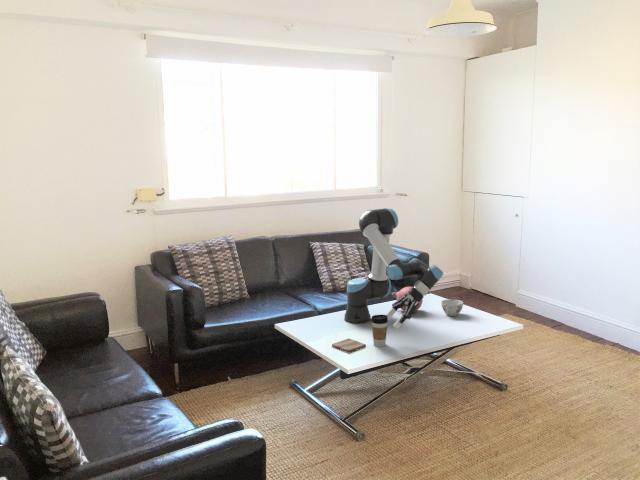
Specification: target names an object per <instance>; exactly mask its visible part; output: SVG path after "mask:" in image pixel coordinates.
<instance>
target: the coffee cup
mask: <svg viewBox="0 0 640 480" xmlns="http://www.w3.org/2000/svg"><path fill="white" fill-rule="evenodd" d="M370 321H371V329H372V340H373V346H375V347H377V346H378V347H379V348H380V347H385V346H386V341H387V333H388V332H387V331H388V322H389V320H388V318H387V315H386V314H373V315H371V319H370Z"/></svg>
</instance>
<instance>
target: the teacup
mask: <svg viewBox="0 0 640 480" xmlns="http://www.w3.org/2000/svg"><path fill="white" fill-rule="evenodd" d="M440 303H441V308H442V310H443V312H444V313H445V314H446V315H447V316H448V317H457V316H458V315H459V313H461V311H462V310H463V307H464V301H462V300H460V299H444V300H441V302H440Z"/></svg>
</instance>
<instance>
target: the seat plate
mask: <svg viewBox="0 0 640 480" xmlns="http://www.w3.org/2000/svg"><path fill="white" fill-rule="evenodd" d="M332 346H333V348H334V347H336V348H335V349H337V348H338V349H337V350H340V349H341V351H342V350H343V352H345V351H346V352H345V353H347V352H350V353H353V352H355V351H358V350H361V349H363V348H366V343H364V342H360V341H359V340H358V341H357V340H354V339H352V338H349V337H348V338H346V339H343V340H340V341H337V342H335V343H332V344H331V347H332ZM360 348H361V349H360ZM357 349H358V350H357ZM352 351H353V352H352Z"/></svg>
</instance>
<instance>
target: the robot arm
mask: <svg viewBox="0 0 640 480" xmlns="http://www.w3.org/2000/svg"><path fill="white" fill-rule="evenodd" d="M358 224H359V225H358V226H359V227H358V228H359V230H360V232H361V234H362V235H363V236H364V237H366V238H367V239H368V241H369V242H370V244H371V245H372V247H373V248H372V249H373V250H372V261H371V269H370V273H369V274H368V276H367V278H364V277H358V278H354V279H350V280H349V281H348V282H347V283H346V284H347V285H346V294H347V295H346V296H347V297H346V301H347V302H346V303H347V305H346V310H345V313H344V320H345V321H346V322H347V323H352V324H364V323H368V322H370V321H371V319H372V315H371V314H370V310H369V307H368V301H373V300H378V299H383V298H386V297H388V296H389V295H390V294H391V293H392V292H391V291H392V282H391V280H392V281H395V280H398V281H399V280H401V279H410V278H414V277H418V278H419V279H418V280H416V282H415V283H414V285H413V286H411V287H412V288H411V289H410V290H409V291H408V293H409V295H407V294H405V295H404V296H403V297H402V298H400V299H399V300H397V299H396V300H395V302H393V303H392V304H391V306H392V307H391V308H390V309H389V311H388V312H387V313H386V314H385V315H387V318H388V321H389V320H390V319H391V318H392V317H393V316H394V315H395V314H396V313H397V311H398V310H399V309H401V307H403V306H406V309H405V311H403V312H404V313H402V315H401V316H400V317H399V318H398V319H397V320H396V321H395V322H394V324H392V325H393V327H394V328H395V329H397V330H398V329H399V328H400V327H401V326H402V325H403V324H404V322H406V320H411V318H412V316H413V314H414V313H415V312H416V311H415V309H416V307H417V306H418V305H419V303H418V302H420V301H421V300H422V299H423V298H424V296H426V295H427V294H428V293H429V292H430V291H431V290H432V288H433V287H434V286H435V285H436V284H437V283H438V282H439V281H440V280H441V278H442V277H443V276H444V272H443V270H441V268H439V267H438V266H437V265H436V264H432V265H430V266H429V265H428V264H426V263H425V262H424V261H422V260H420V259H418V258H416V257H413V258H411V259H410V260H409V261H408V262H404V263H403V262H402V260H401V259H400V257H399V256H398V255H397V253H396V252H395V251H394V250H395V249H393V247H392V246H391V245H390V237H391V235H393V234H394V229H396V228H397V227H398V224H399V216H398V214H397V213H396V211H395V210H394V209H393V208H386V207H384V208H376V209H369V210H366V211H364V212H363V213H361V215H360V217H359V221H358ZM404 298H405V299H404ZM417 301H418V302H417ZM414 311H415V312H414Z"/></svg>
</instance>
